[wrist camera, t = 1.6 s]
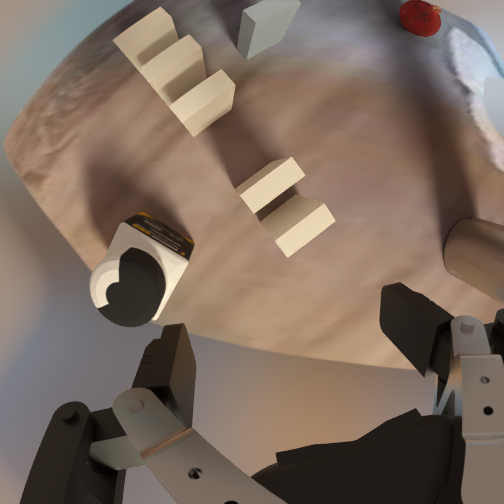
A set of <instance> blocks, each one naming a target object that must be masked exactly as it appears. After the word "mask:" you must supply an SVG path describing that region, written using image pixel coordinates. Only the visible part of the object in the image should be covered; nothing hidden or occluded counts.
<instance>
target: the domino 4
mask: <svg viewBox="0 0 504 504" xmlns="http://www.w3.org/2000/svg"><path fill="white" fill-rule="evenodd" d="M300 4H301V2H300V1H299V0H264V1H262V2H259V3H257V4H255V5H253V6H250V7H248V8H246V9H244V10H243V12H242V19H241V25H240V31H239V38H238V45H237V50H238V51H239V52H240V53H241V55H242V56H243V57H244V58H245V59H246V60H247V59H249V58H251V57H253V56H254V55H256V54H258V53H260V52H262V51H263V50H265V49H267V48H269V47H271V46H273V45H275V44H276V43H278V42H280V41H282V39H283V37H284V35H285V33H286V31H287V29H288V27H289V25H290V23H291V21H292V19H293V17H294V16H295V14H296V12H297V10H298V8H299V6H300Z"/></svg>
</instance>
